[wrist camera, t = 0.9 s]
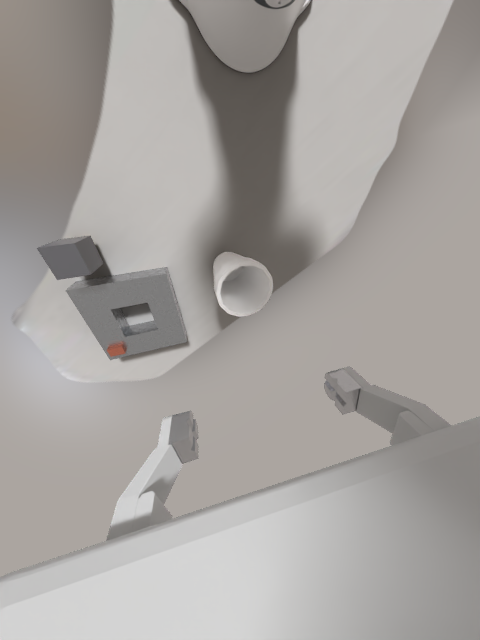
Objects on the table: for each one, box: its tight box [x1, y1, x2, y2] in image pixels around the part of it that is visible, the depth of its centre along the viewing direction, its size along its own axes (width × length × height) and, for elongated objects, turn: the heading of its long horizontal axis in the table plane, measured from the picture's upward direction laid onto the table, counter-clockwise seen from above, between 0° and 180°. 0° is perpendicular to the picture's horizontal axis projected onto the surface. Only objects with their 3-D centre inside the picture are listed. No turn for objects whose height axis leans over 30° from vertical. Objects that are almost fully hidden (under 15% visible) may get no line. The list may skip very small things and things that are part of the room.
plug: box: [37, 236, 103, 280], centre depth 30 cm, size 4×4×8 cm
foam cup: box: [213, 252, 273, 317], centre depth 36 cm, size 10×9×13 cm
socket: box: [66, 267, 187, 360], centre depth 39 cm, size 16×16×5 cm
